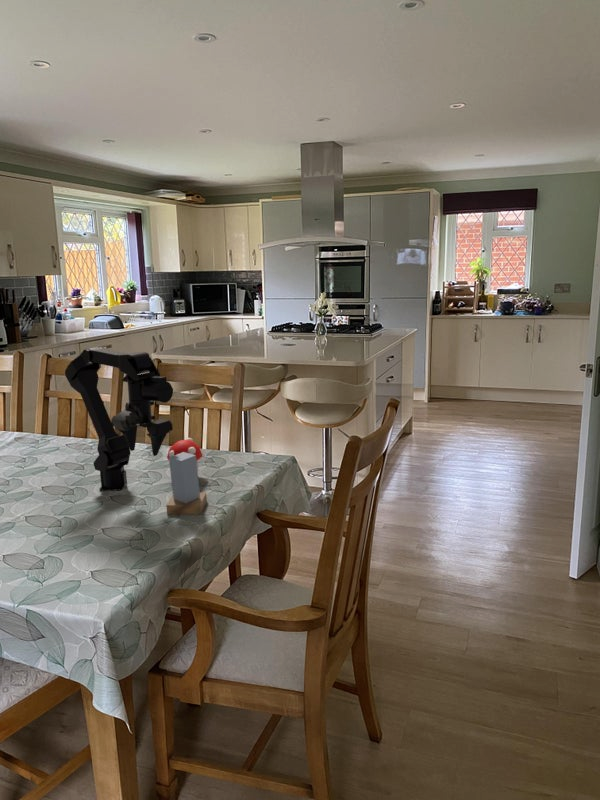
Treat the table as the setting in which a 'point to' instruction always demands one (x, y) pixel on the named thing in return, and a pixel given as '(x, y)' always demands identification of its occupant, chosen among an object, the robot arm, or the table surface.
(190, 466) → the pillar
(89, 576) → the table surface
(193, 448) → the mushroom
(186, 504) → the pedestal
